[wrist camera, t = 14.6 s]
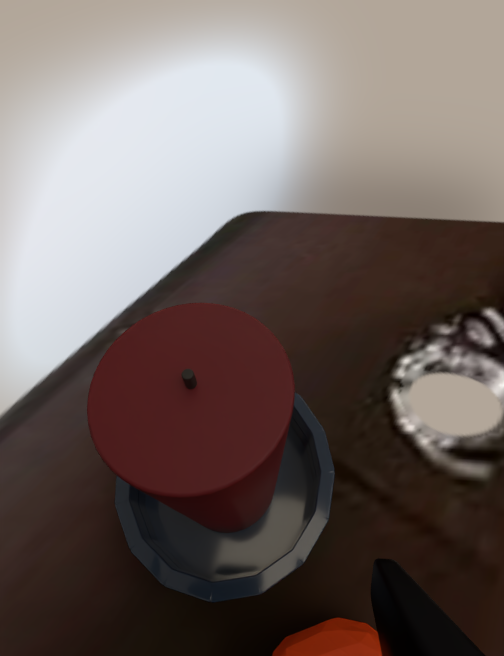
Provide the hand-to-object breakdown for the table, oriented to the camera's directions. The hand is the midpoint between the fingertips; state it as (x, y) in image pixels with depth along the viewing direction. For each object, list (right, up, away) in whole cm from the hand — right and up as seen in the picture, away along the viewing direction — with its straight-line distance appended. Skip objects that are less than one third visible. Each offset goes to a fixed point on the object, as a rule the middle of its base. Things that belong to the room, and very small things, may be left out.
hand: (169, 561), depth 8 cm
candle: (+1, -3, +12) cm, 12 cm away
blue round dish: (+1, -4, +13) cm, 13 cm away
